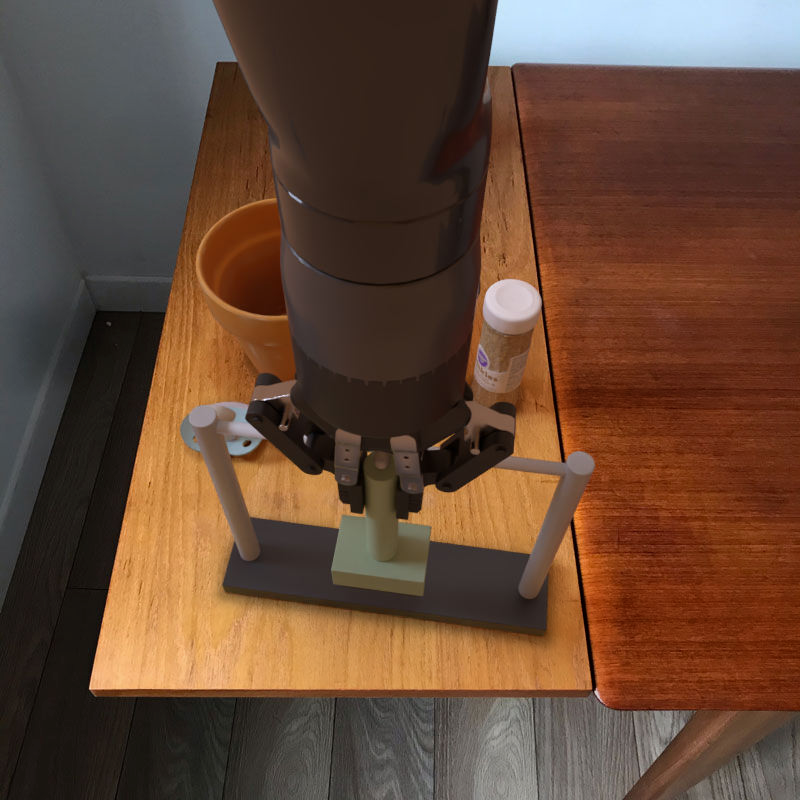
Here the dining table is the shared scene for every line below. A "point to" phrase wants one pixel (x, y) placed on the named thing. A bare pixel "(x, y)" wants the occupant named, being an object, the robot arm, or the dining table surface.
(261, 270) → the flower pot
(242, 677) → the dining table surface
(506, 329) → the sprinkles bottle
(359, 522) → the peg on square base
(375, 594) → the rack
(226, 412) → the pacifier
